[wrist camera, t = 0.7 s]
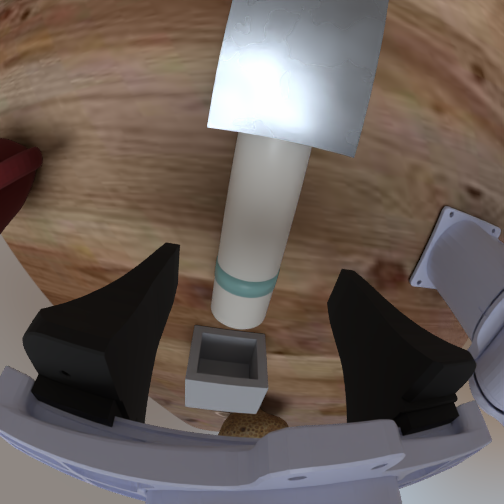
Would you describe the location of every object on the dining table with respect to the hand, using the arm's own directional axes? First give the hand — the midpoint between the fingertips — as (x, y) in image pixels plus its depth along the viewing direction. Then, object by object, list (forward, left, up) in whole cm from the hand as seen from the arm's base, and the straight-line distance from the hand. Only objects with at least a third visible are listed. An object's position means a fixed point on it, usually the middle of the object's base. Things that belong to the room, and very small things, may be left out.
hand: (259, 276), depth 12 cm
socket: (0, +15, -8) cm, 17 cm away
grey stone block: (0, -11, -8) cm, 14 cm away
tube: (0, -5, -7) cm, 9 cm away
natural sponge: (-5, +28, -9) cm, 29 cm away
